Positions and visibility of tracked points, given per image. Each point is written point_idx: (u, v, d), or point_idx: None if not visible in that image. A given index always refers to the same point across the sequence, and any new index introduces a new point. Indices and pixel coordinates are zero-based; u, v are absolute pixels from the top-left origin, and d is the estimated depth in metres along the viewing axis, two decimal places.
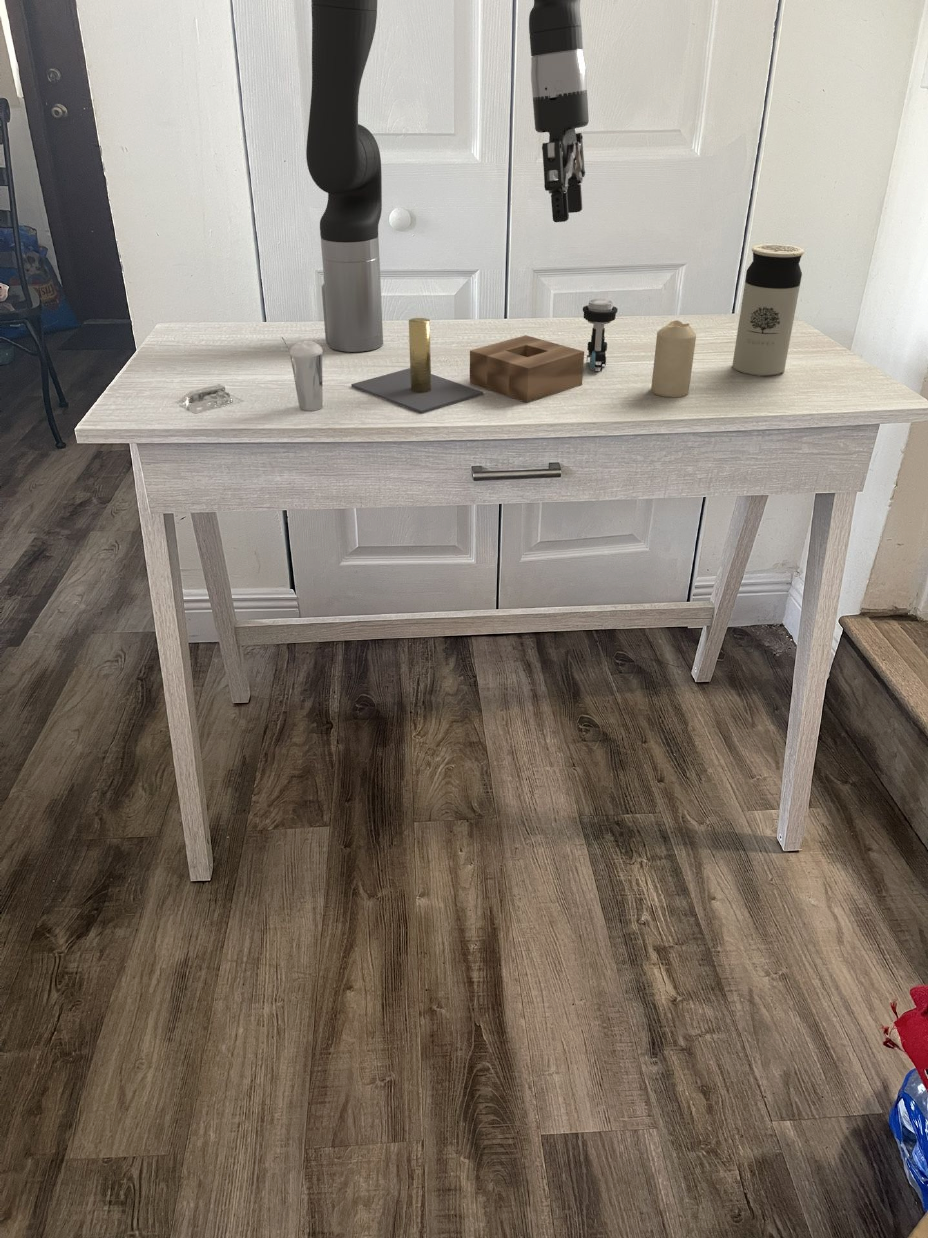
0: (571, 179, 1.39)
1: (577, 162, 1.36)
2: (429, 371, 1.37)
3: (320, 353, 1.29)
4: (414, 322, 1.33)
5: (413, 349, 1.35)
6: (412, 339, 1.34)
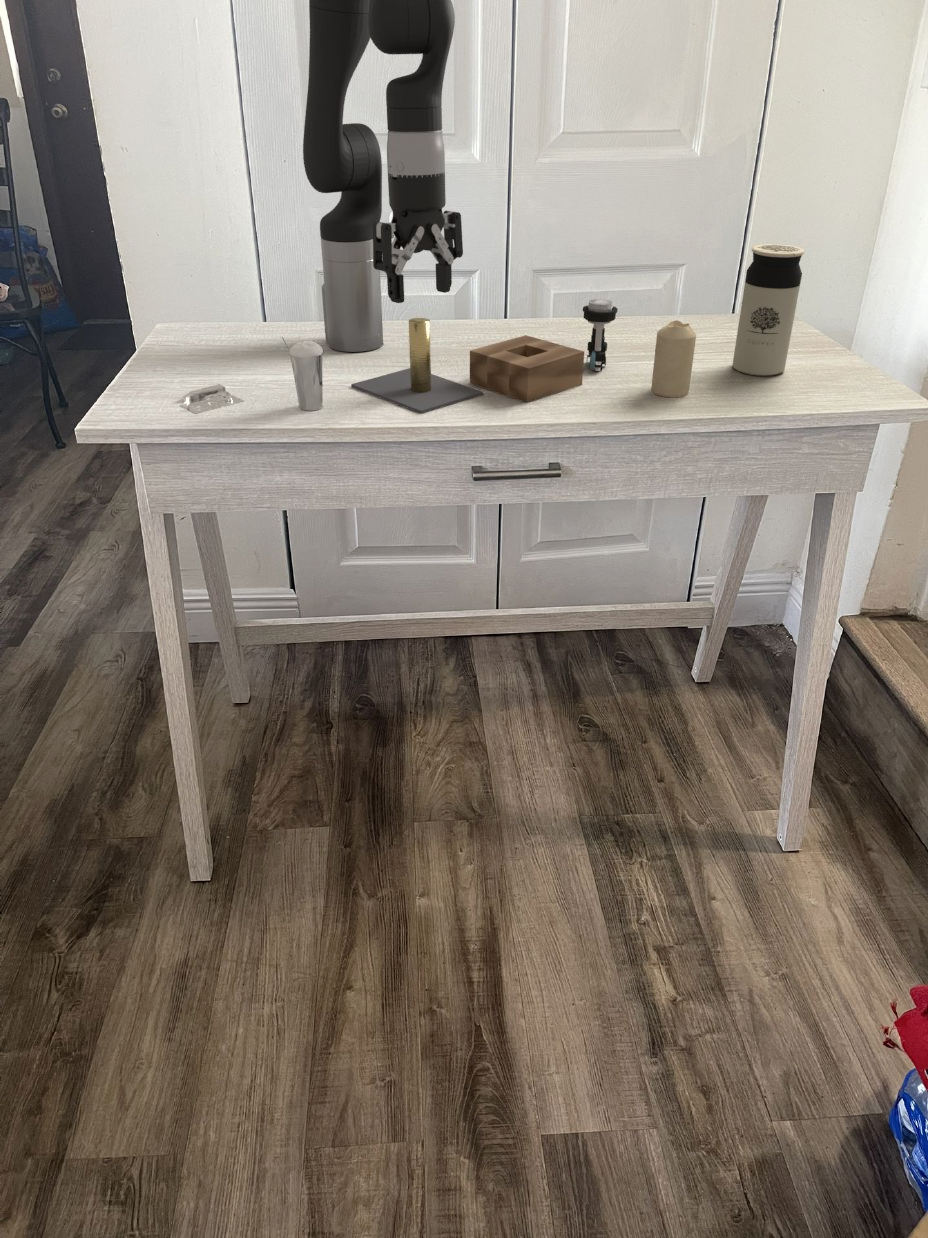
0: (441, 258, 1.32)
1: (437, 243, 1.29)
2: (429, 371, 1.37)
3: (320, 353, 1.29)
4: (414, 322, 1.33)
5: (413, 349, 1.35)
6: (412, 339, 1.34)
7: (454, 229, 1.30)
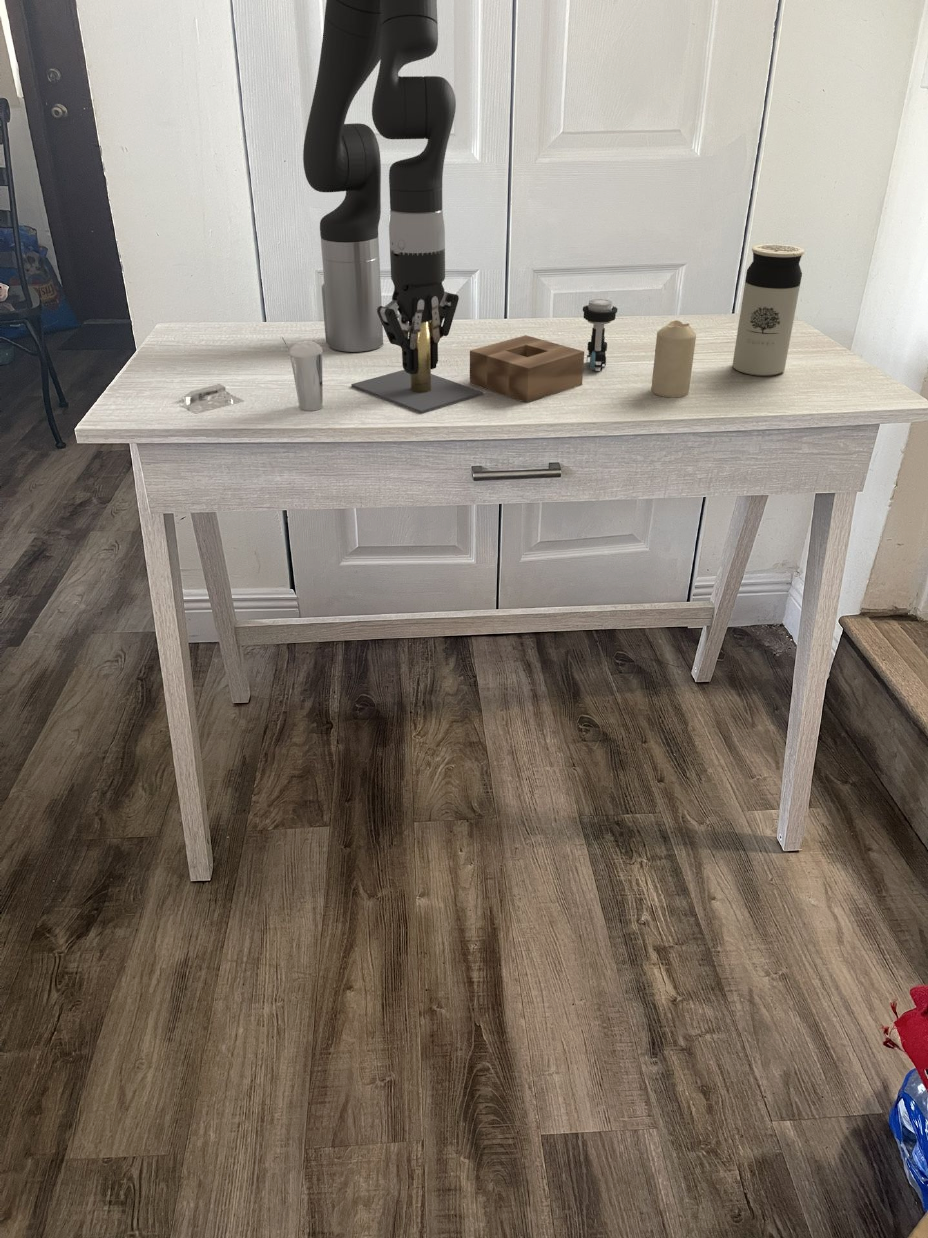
0: None
1: (431, 316, 1.33)
2: (429, 371, 1.37)
3: (320, 353, 1.29)
4: None
5: None
6: None
7: (448, 308, 1.35)
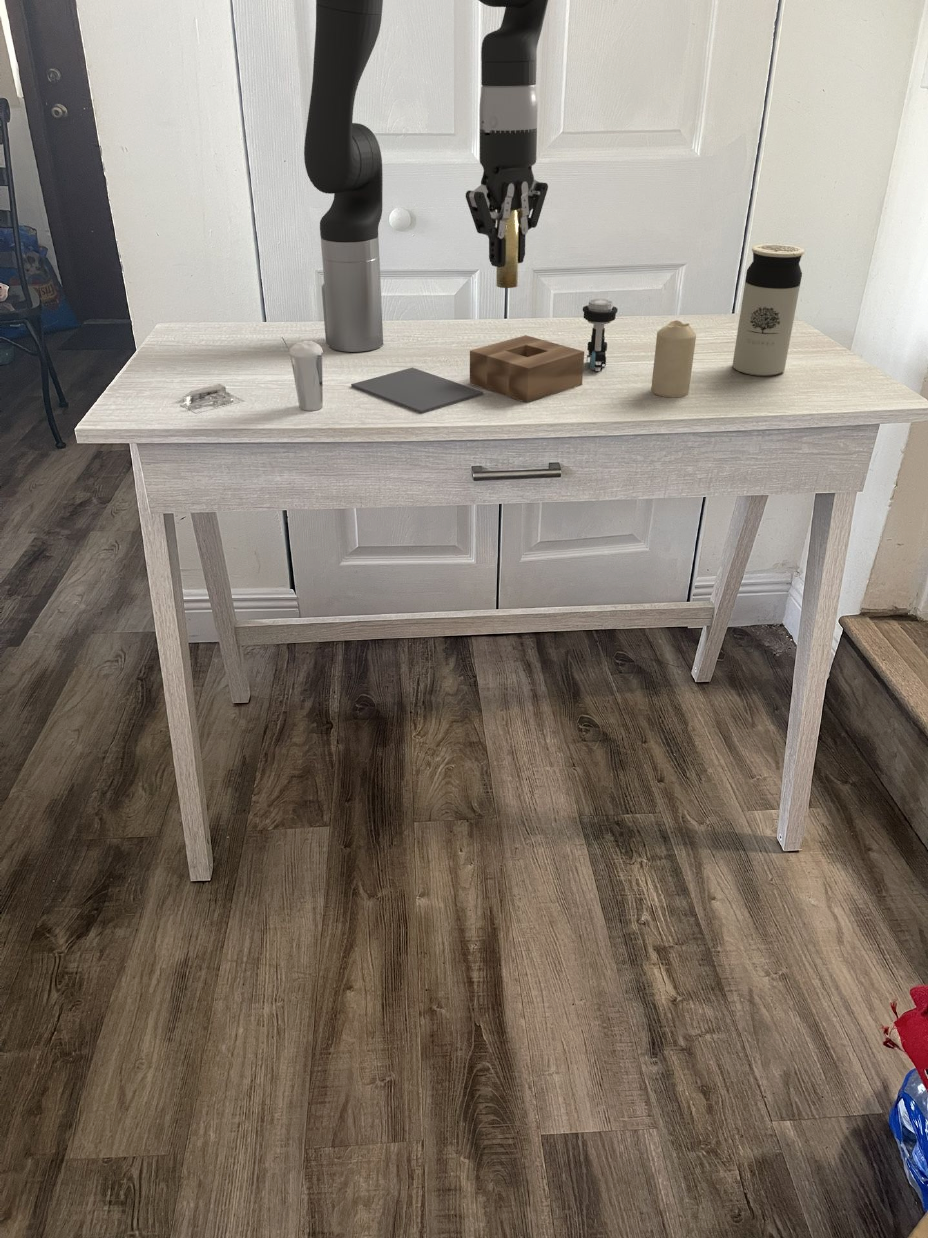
0: None
1: (520, 204, 1.27)
2: (516, 265, 1.31)
3: (320, 353, 1.29)
4: None
5: None
6: None
7: (537, 197, 1.30)
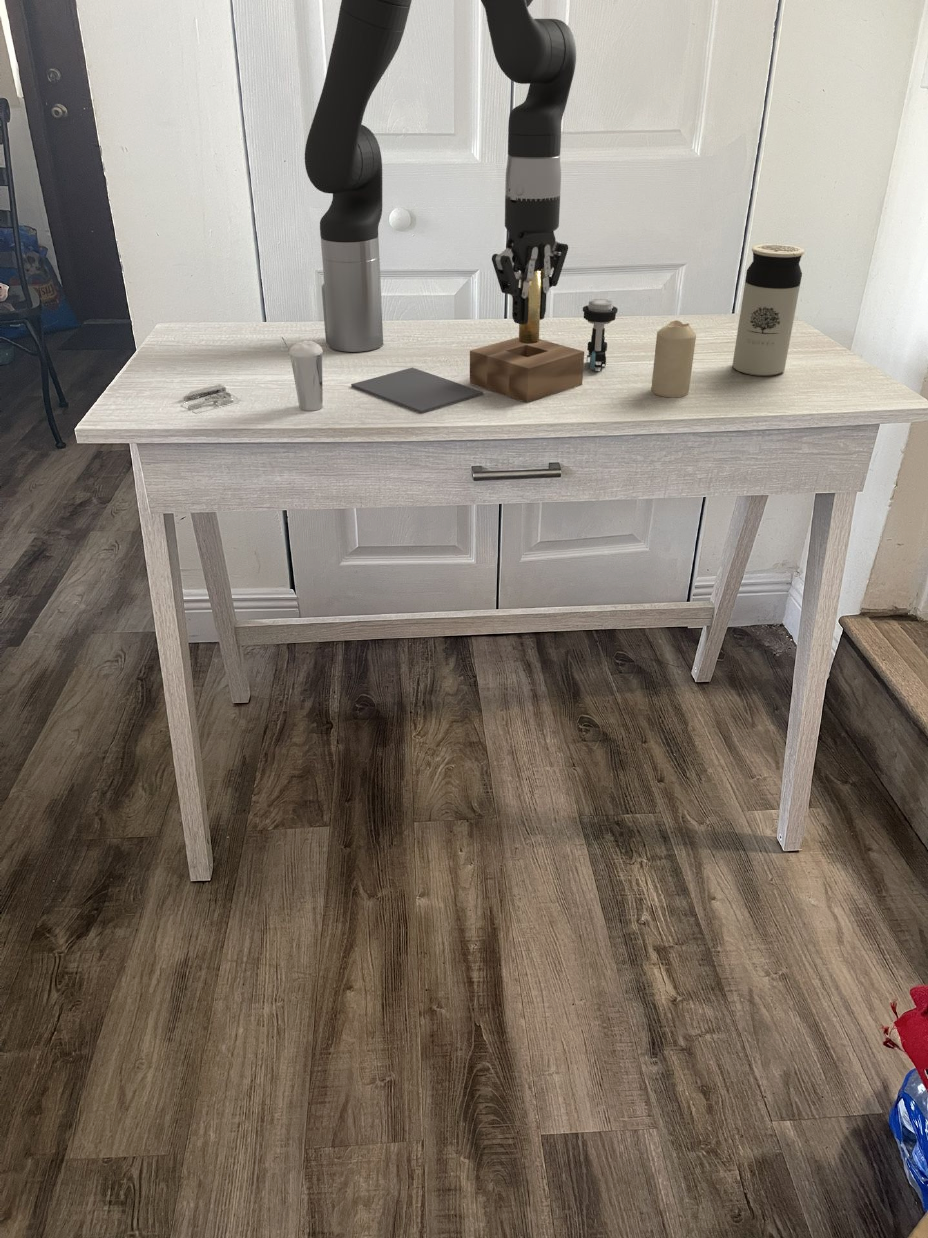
0: None
1: (542, 265, 1.33)
2: (538, 321, 1.37)
3: (320, 353, 1.29)
4: None
5: None
6: None
7: (558, 257, 1.35)
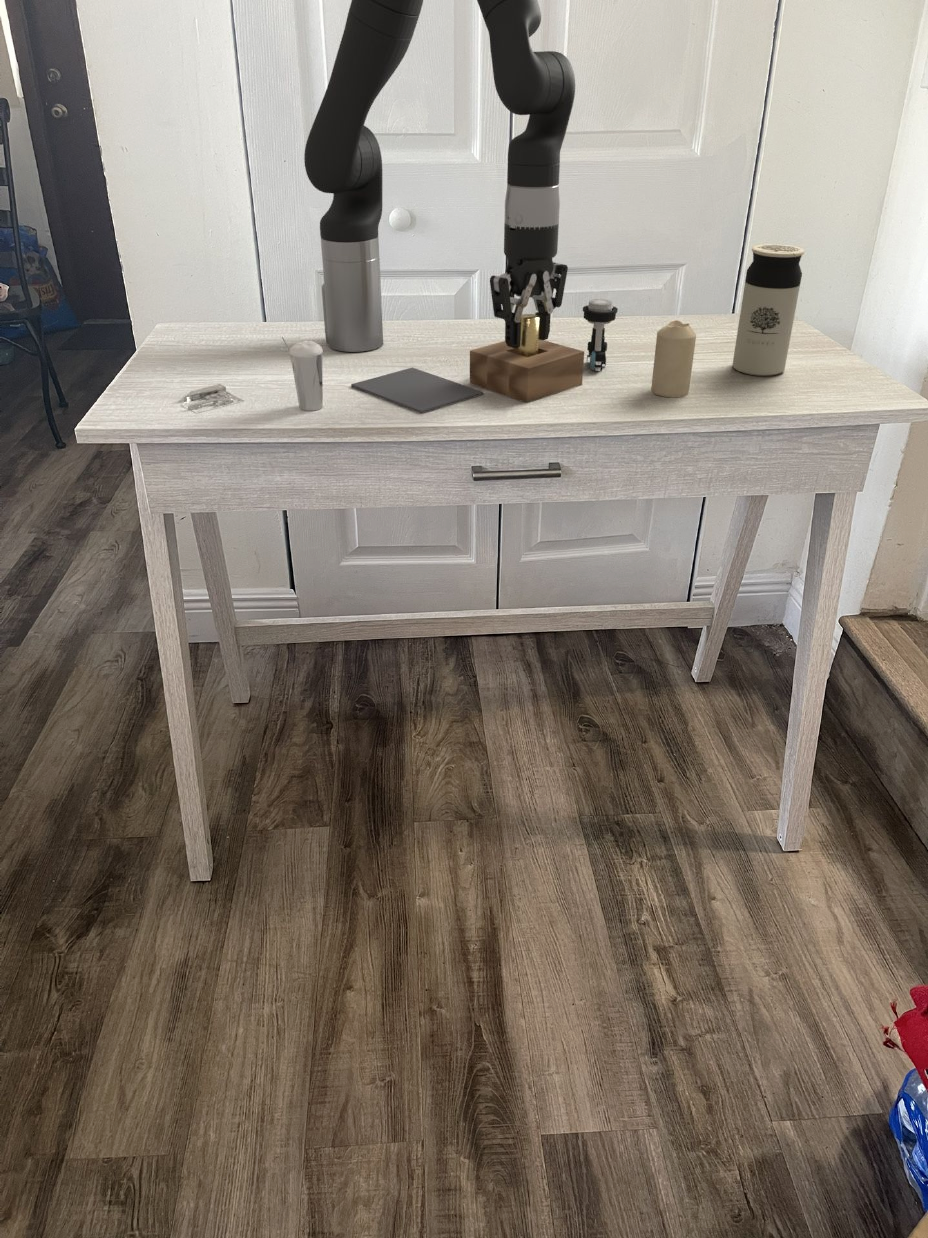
0: (541, 307, 1.38)
1: (543, 290, 1.35)
2: None
3: (320, 353, 1.29)
4: (525, 318, 1.36)
5: (522, 344, 1.38)
6: (522, 334, 1.37)
7: (559, 279, 1.37)
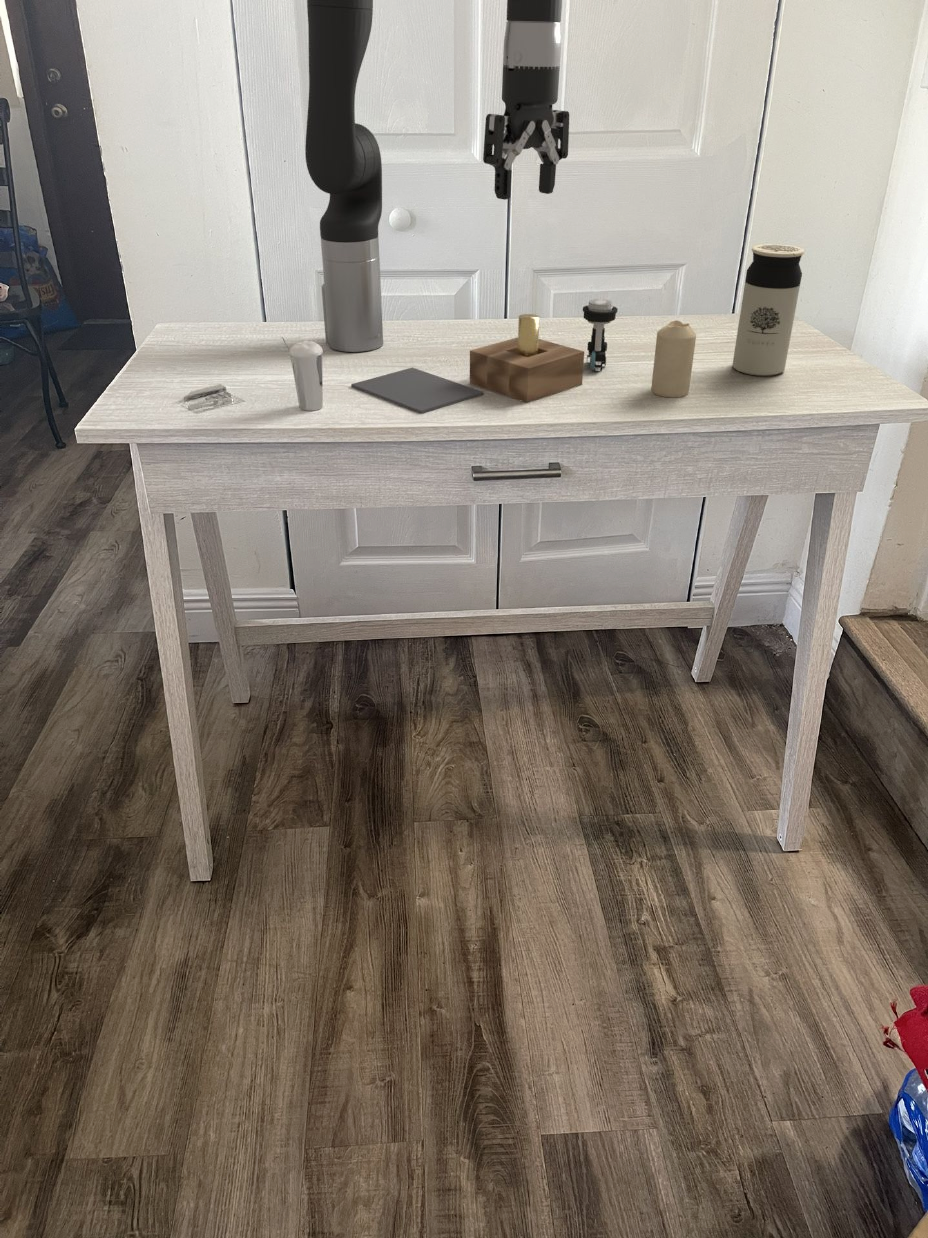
0: (546, 157, 1.33)
1: (545, 141, 1.30)
2: None
3: (320, 353, 1.29)
4: (524, 318, 1.36)
5: (522, 344, 1.38)
6: (522, 334, 1.37)
7: (562, 128, 1.31)
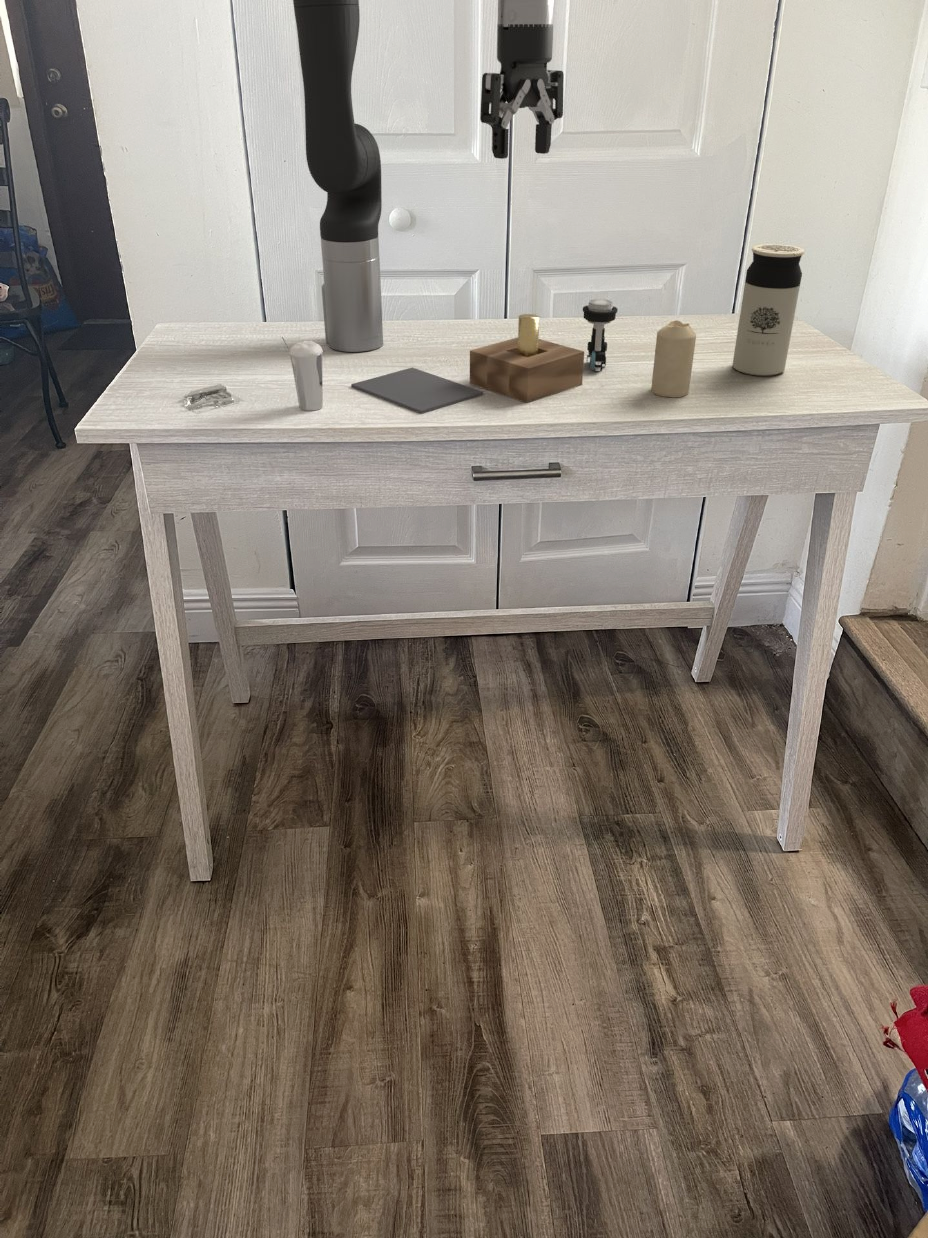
0: (542, 117, 1.35)
1: (540, 100, 1.32)
2: None
3: (320, 353, 1.29)
4: (524, 318, 1.36)
5: (522, 344, 1.38)
6: (522, 334, 1.37)
7: (556, 88, 1.33)
